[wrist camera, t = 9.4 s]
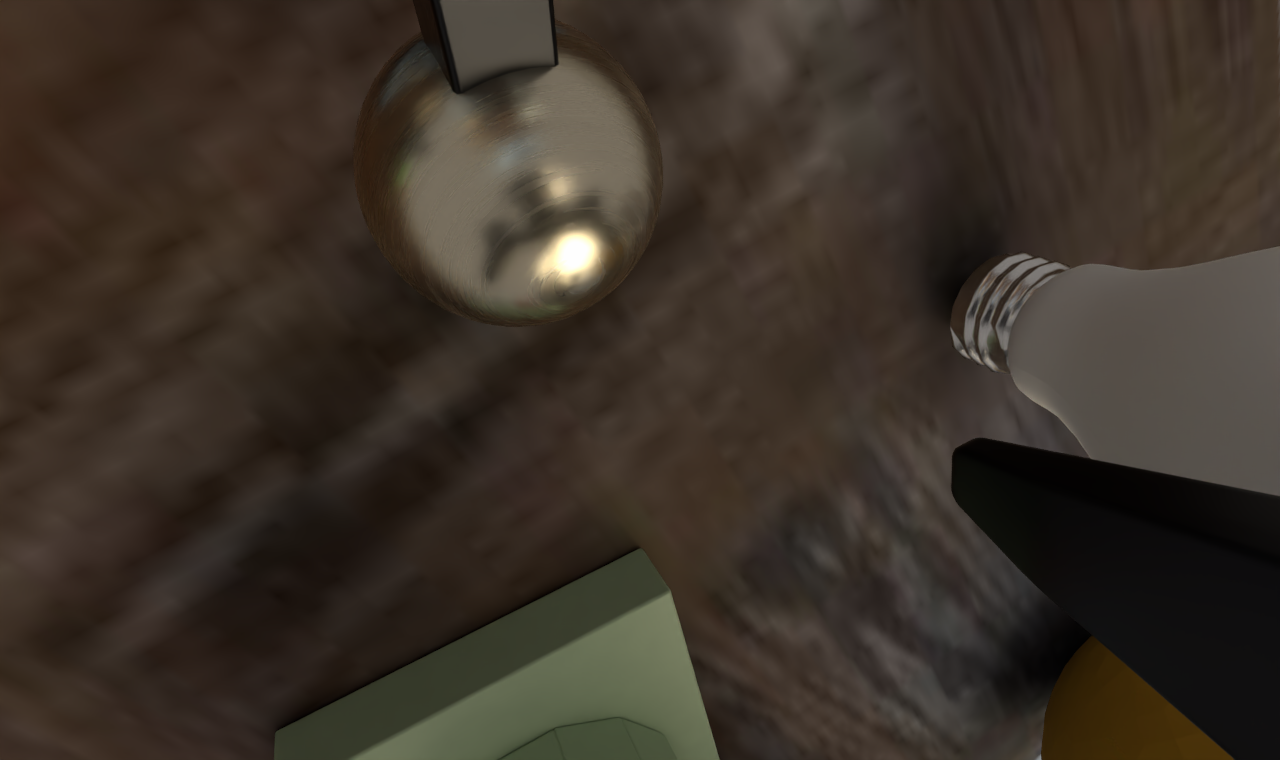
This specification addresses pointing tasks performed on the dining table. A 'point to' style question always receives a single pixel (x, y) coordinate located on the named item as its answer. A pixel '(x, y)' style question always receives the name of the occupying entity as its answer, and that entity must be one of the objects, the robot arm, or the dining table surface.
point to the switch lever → (507, 163)
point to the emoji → (1116, 715)
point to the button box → (534, 686)
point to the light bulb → (1141, 358)
